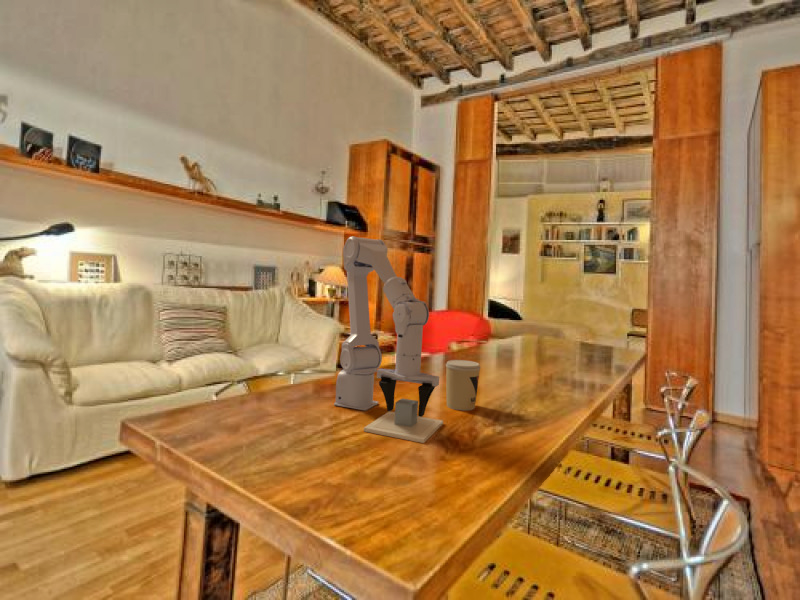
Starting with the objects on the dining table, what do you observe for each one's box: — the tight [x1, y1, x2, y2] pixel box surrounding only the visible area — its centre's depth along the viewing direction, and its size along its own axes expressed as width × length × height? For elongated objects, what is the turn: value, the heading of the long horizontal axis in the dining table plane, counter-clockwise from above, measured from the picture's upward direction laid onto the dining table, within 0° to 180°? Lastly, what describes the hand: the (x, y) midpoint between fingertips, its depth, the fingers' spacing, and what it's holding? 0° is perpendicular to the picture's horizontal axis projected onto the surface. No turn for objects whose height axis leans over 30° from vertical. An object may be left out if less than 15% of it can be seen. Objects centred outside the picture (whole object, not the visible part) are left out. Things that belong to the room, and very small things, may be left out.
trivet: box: [363, 410, 444, 444], centre depth 102 cm, size 14×14×1 cm
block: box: [394, 398, 419, 427], centre depth 102 cm, size 4×4×5 cm
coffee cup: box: [445, 359, 481, 412], centre depth 121 cm, size 9×9×12 cm
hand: (405, 412), depth 101 cm, fingers open, 7 cm apart
